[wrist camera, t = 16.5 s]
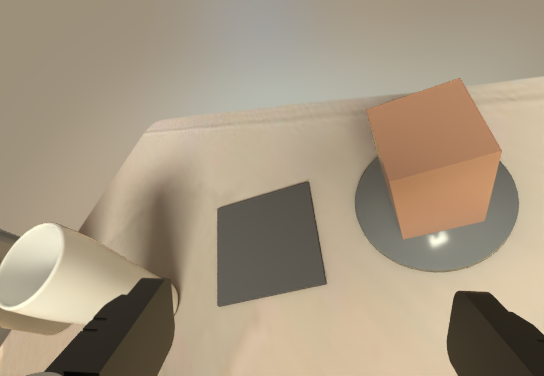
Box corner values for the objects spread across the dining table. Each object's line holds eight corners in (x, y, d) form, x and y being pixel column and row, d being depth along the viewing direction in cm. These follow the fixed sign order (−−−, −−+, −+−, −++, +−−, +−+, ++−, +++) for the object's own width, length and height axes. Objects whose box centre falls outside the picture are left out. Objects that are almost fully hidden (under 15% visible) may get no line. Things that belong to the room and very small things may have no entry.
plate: (338, 248, 32) (336, 245, 32) (377, 135, 37) (376, 131, 36) (503, 294, 26) (505, 291, 25) (527, 150, 30) (529, 144, 29)
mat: (219, 306, 34) (217, 305, 34) (219, 210, 40) (217, 208, 40) (326, 284, 31) (325, 283, 31) (308, 183, 37) (307, 181, 37)
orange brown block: (403, 239, 30) (389, 181, 22) (383, 178, 33) (366, 109, 25) (484, 221, 28) (501, 150, 20) (455, 158, 31) (460, 77, 23)
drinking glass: (123, 314, 38) (-18, 276, 27) (163, 263, 40) (46, 206, 28) (154, 355, 34) (5, 333, 23) (198, 298, 36) (77, 248, 24)
